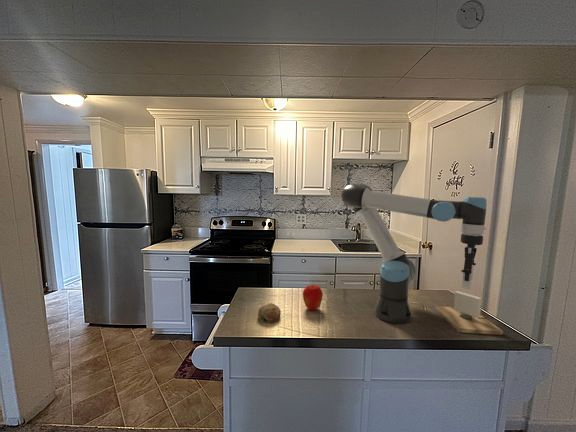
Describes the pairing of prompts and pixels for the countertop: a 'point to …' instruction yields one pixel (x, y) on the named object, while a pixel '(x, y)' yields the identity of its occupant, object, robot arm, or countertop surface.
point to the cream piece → (467, 305)
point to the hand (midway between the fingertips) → (467, 283)
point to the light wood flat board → (468, 322)
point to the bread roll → (269, 313)
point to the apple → (312, 297)
